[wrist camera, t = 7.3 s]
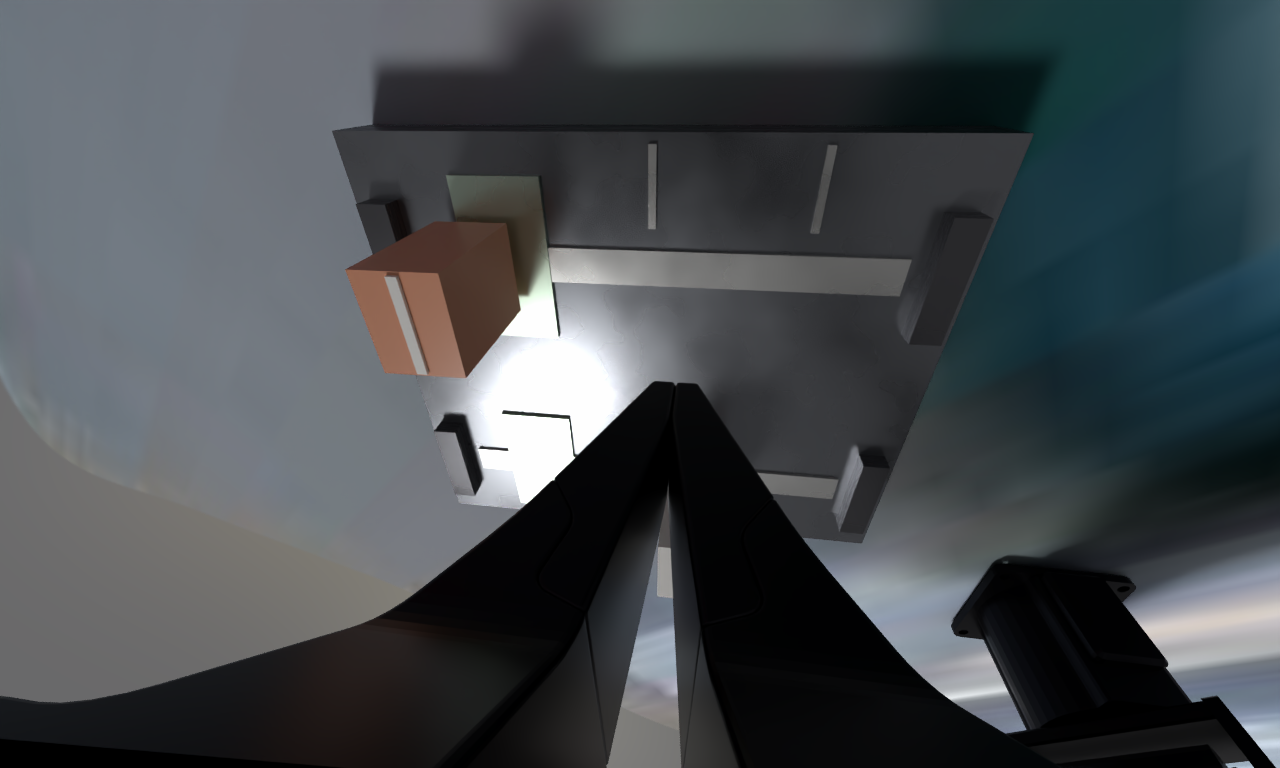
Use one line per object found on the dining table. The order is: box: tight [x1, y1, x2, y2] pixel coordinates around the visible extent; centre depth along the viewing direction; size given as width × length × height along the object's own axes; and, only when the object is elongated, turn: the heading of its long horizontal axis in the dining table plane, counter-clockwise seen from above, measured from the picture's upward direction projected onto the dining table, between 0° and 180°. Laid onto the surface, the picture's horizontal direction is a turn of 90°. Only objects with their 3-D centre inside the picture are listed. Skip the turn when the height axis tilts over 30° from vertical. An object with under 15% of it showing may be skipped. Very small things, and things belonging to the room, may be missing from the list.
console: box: [332, 125, 1034, 543], centre depth 18 cm, size 17×20×3 cm
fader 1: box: [346, 221, 521, 378], centre depth 14 cm, size 3×2×4 cm
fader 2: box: [657, 485, 673, 598], centre depth 18 cm, size 3×2×4 cm
